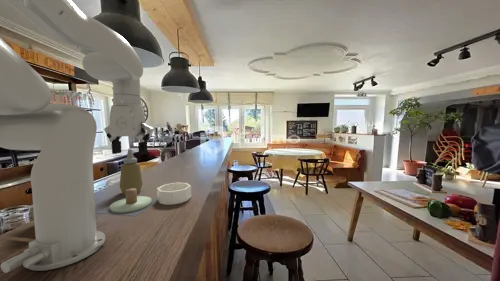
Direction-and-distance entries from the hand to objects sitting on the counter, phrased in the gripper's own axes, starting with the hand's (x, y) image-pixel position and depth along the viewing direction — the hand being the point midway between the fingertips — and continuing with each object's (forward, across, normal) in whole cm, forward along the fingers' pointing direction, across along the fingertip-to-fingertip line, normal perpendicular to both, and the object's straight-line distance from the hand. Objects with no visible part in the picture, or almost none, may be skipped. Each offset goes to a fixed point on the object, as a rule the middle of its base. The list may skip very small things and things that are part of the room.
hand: (129, 153), depth 65 cm
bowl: (+18, +11, +8) cm, 23 cm away
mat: (+18, 0, 0) cm, 18 cm away
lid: (+18, 0, 0) cm, 18 cm away
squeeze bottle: (+18, -10, +12) cm, 24 cm away
